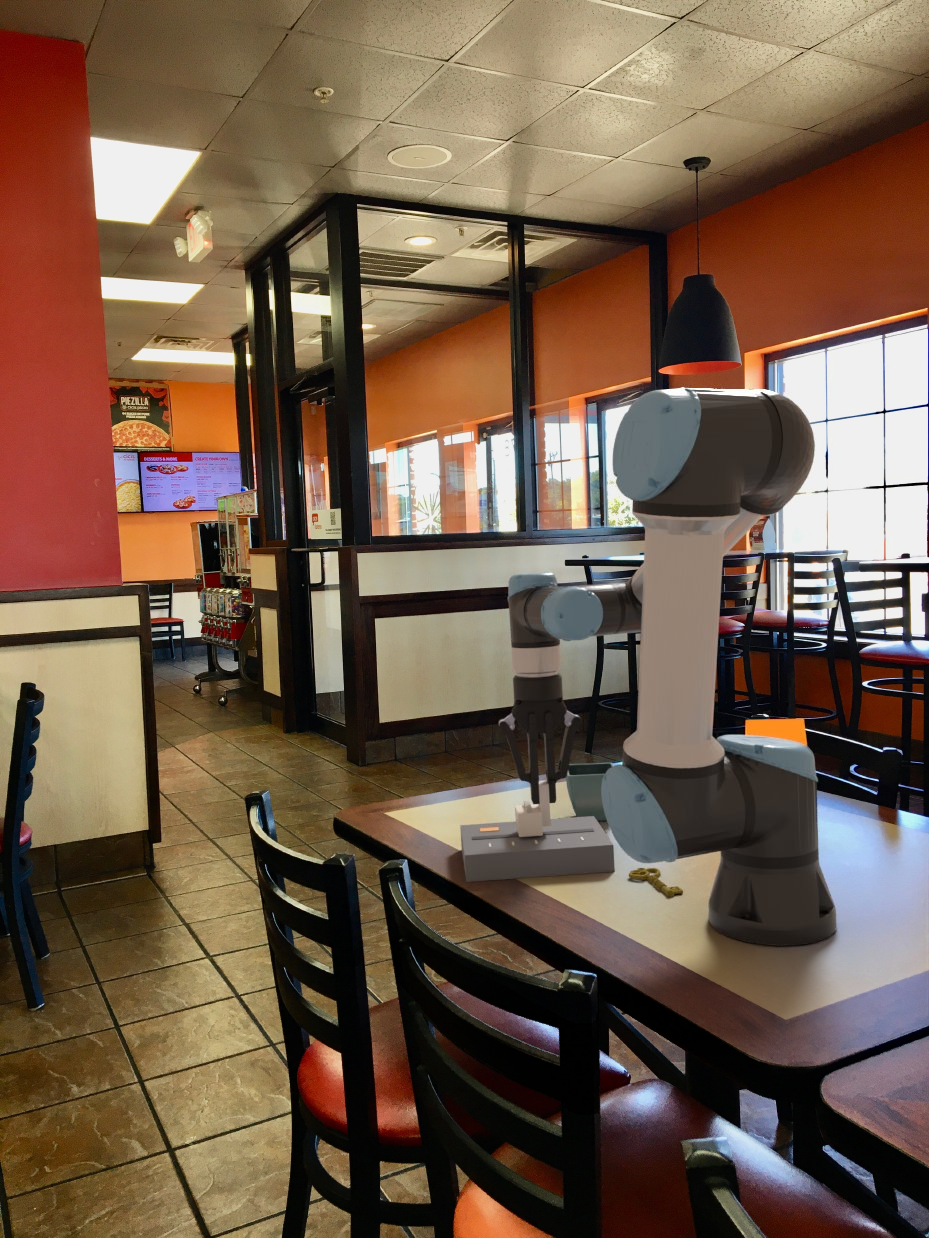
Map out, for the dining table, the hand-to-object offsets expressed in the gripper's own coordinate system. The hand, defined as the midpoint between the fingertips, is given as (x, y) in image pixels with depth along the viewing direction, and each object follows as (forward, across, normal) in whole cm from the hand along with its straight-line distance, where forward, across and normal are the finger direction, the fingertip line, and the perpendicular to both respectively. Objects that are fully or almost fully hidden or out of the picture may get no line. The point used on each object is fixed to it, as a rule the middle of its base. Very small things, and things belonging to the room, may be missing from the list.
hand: (544, 823), depth 149 cm
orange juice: (+6, -36, +2) cm, 37 cm away
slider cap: (+1, +3, 0) cm, 3 cm away
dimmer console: (+6, +2, 0) cm, 6 cm away
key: (+6, -13, +14) cm, 20 cm away
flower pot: (+6, -11, -21) cm, 24 cm away
